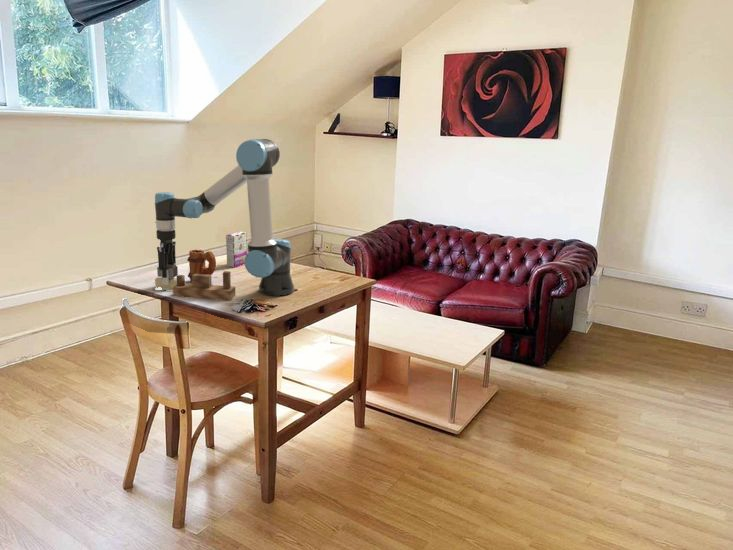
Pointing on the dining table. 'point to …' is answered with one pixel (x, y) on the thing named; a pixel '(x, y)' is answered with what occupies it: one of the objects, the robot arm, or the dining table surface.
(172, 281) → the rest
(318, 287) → the dining table surface
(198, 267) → the mug
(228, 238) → the candy bar box
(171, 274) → the lever cap
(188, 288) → the wooden peg board
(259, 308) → the dining table surface
